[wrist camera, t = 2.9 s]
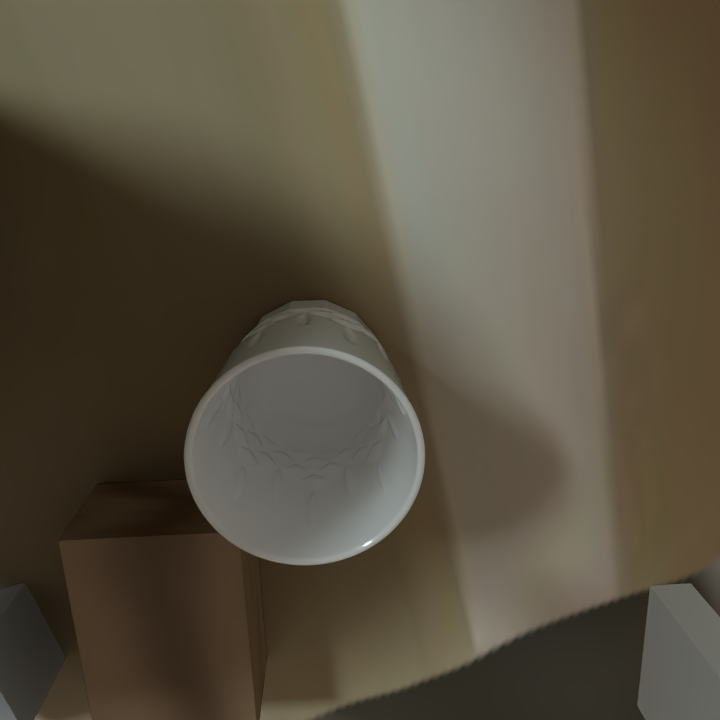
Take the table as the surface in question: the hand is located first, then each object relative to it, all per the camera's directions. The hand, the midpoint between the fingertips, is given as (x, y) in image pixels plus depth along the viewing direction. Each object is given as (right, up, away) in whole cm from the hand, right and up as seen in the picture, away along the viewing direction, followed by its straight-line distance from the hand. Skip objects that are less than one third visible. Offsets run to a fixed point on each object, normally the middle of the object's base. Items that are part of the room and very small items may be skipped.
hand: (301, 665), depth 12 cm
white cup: (-1, +5, +19) cm, 20 cm away
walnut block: (-8, -5, +22) cm, 24 cm away
